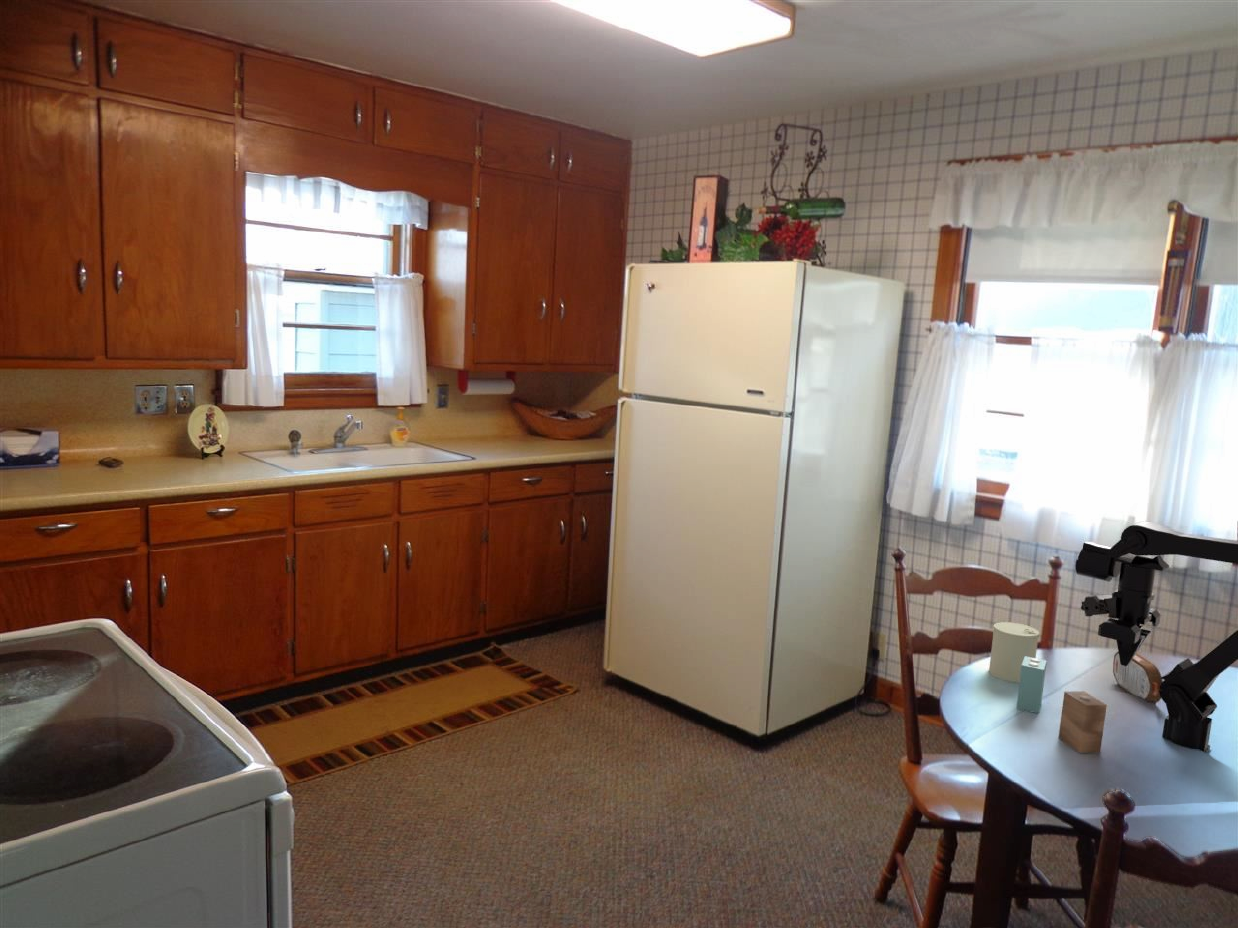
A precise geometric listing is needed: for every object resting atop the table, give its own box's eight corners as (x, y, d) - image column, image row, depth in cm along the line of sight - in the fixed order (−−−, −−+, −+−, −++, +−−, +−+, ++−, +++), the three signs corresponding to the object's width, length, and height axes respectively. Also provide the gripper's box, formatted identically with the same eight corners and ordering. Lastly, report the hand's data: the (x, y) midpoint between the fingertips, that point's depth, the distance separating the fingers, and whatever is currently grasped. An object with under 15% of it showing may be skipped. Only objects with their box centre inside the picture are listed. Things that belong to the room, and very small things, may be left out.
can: (1027, 691, 187) (1034, 637, 185) (982, 679, 192) (988, 626, 191) (1037, 678, 194) (1044, 626, 192) (994, 667, 200) (999, 616, 198)
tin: (1162, 709, 181) (1167, 670, 179) (1146, 708, 181) (1152, 669, 179) (1122, 680, 196) (1127, 644, 194) (1107, 680, 196) (1112, 643, 194)
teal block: (1041, 702, 178) (1046, 659, 177) (1038, 713, 173) (1044, 668, 172) (1019, 698, 180) (1025, 655, 179) (1016, 708, 175) (1021, 664, 174)
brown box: (1078, 737, 163) (1084, 690, 162) (1100, 752, 157) (1106, 704, 156) (1058, 737, 163) (1064, 690, 161) (1079, 753, 157) (1086, 704, 155)
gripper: (1104, 570, 180) (1094, 642, 183) (1074, 586, 167) (1063, 664, 170) (1166, 582, 173) (1154, 658, 175) (1139, 600, 160) (1128, 682, 162)
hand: (1124, 665), depth 171 cm, fingers closed
